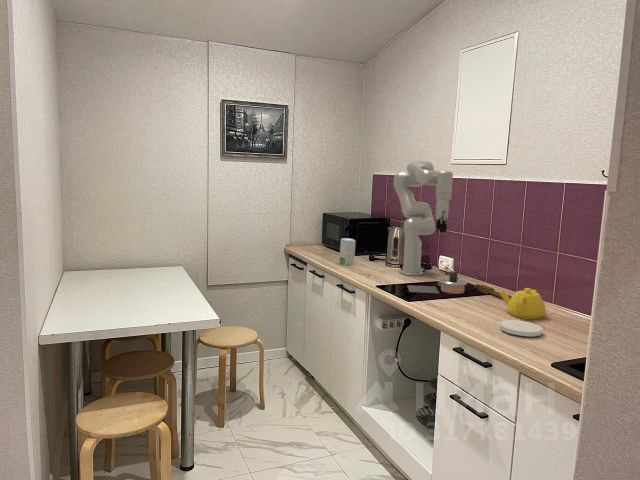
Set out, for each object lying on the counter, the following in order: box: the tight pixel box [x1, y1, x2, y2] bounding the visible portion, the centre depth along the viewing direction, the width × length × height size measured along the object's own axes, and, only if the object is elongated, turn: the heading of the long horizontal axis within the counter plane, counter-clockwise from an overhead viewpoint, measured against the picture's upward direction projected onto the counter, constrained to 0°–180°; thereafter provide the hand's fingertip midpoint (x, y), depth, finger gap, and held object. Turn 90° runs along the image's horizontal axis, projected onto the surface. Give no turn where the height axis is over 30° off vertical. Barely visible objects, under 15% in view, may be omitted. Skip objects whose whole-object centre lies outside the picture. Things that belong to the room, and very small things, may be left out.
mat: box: [406, 284, 440, 294], centre depth 232 cm, size 14×14×1 cm
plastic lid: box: [499, 319, 543, 337], centre depth 172 cm, size 14×14×2 cm
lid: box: [438, 270, 468, 286], centre depth 229 cm, size 13×13×5 cm
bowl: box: [440, 283, 466, 295], centre depth 229 cm, size 10×10×4 cm
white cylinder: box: [338, 237, 357, 266], centre depth 294 cm, size 8×7×16 cm
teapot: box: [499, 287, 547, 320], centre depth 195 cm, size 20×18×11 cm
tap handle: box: [474, 283, 513, 301], centre depth 224 cm, size 3×3×30 cm
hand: (441, 230), depth 239 cm, fingers open, 9 cm apart
